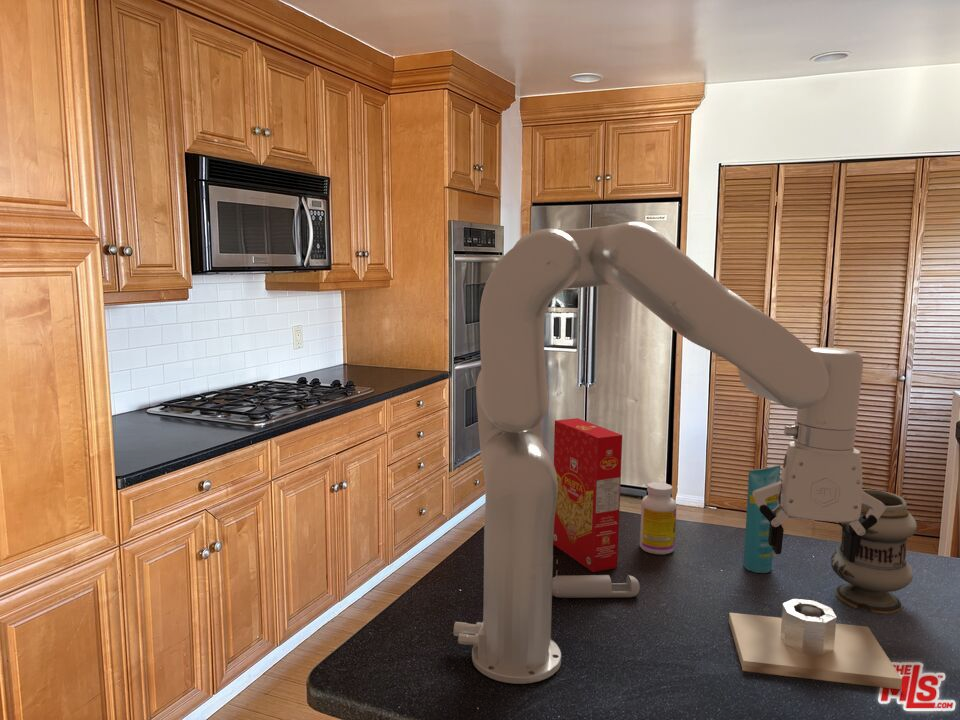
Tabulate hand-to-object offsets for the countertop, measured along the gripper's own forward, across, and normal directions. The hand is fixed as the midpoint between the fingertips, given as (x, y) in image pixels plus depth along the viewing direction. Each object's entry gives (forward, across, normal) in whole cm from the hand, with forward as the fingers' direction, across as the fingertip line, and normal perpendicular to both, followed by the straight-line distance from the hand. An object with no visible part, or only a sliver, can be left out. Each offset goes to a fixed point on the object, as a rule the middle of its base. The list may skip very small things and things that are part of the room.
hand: (812, 554), depth 102 cm
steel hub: (+13, +1, 0) cm, 13 cm away
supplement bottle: (+15, -19, +34) cm, 42 cm away
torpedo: (+16, -32, +11) cm, 37 cm away
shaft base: (+15, +1, 0) cm, 15 cm away
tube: (+15, -1, +29) cm, 33 cm away
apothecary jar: (+15, +15, +20) cm, 29 cm away
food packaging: (+16, -33, +28) cm, 46 cm away
